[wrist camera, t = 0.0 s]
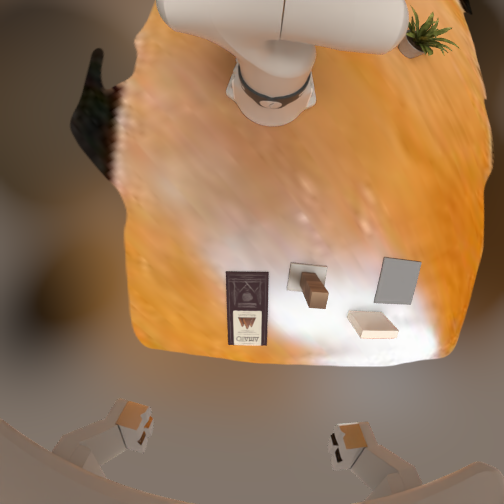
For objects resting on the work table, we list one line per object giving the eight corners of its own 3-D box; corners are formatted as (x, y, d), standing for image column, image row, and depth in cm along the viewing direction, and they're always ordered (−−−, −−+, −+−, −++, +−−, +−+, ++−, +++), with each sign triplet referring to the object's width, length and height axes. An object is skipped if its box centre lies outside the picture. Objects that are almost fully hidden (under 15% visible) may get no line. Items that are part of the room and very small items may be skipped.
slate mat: (383, 257, 57) (384, 257, 56) (420, 261, 57) (421, 262, 56) (373, 302, 59) (374, 302, 59) (409, 303, 59) (410, 304, 59)
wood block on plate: (290, 262, 58) (299, 282, 45) (326, 266, 58) (343, 286, 45) (286, 289, 59) (293, 314, 46) (321, 292, 59) (336, 317, 46)
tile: (348, 310, 60) (362, 330, 50) (381, 312, 60) (398, 330, 50) (346, 318, 60) (360, 338, 50) (379, 319, 60) (396, 338, 50)
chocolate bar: (268, 272, 58) (266, 345, 62) (268, 271, 59) (266, 343, 62) (226, 272, 58) (228, 344, 62) (226, 270, 59) (228, 342, 63)
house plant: (437, 81, 46) (473, 62, 30) (395, 74, 47) (429, 48, 31) (421, 37, 43) (451, 13, 27) (379, 29, 44) (405, -2, 28)
